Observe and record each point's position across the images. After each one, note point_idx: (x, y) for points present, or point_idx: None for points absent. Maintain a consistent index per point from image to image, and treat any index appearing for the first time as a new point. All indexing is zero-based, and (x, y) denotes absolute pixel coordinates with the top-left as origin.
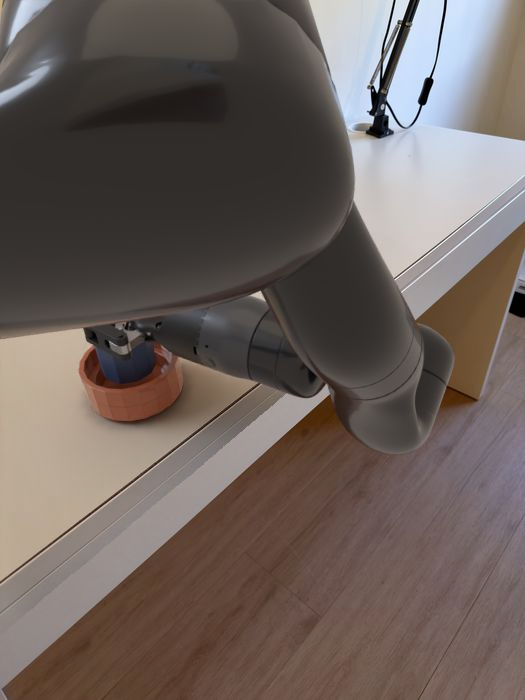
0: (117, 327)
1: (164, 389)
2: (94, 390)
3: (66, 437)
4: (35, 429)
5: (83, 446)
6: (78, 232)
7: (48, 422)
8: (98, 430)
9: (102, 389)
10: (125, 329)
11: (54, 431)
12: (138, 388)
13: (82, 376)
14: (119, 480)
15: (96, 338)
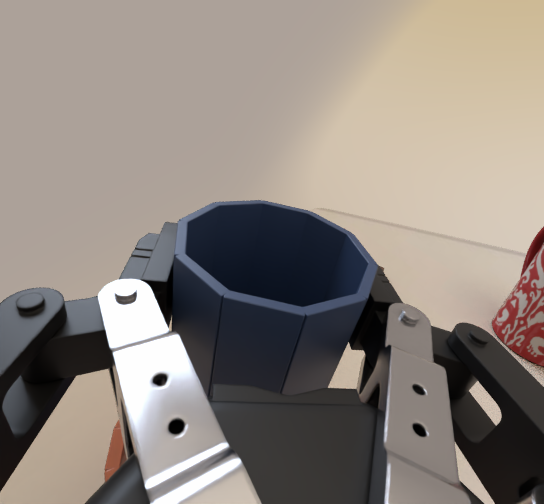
0: (120, 418)
1: None
2: (112, 437)
3: (59, 443)
4: (75, 380)
5: (33, 498)
6: None
7: (95, 387)
8: (88, 493)
9: (113, 456)
10: (127, 455)
11: (74, 411)
12: None
13: None
14: None
15: (21, 392)
